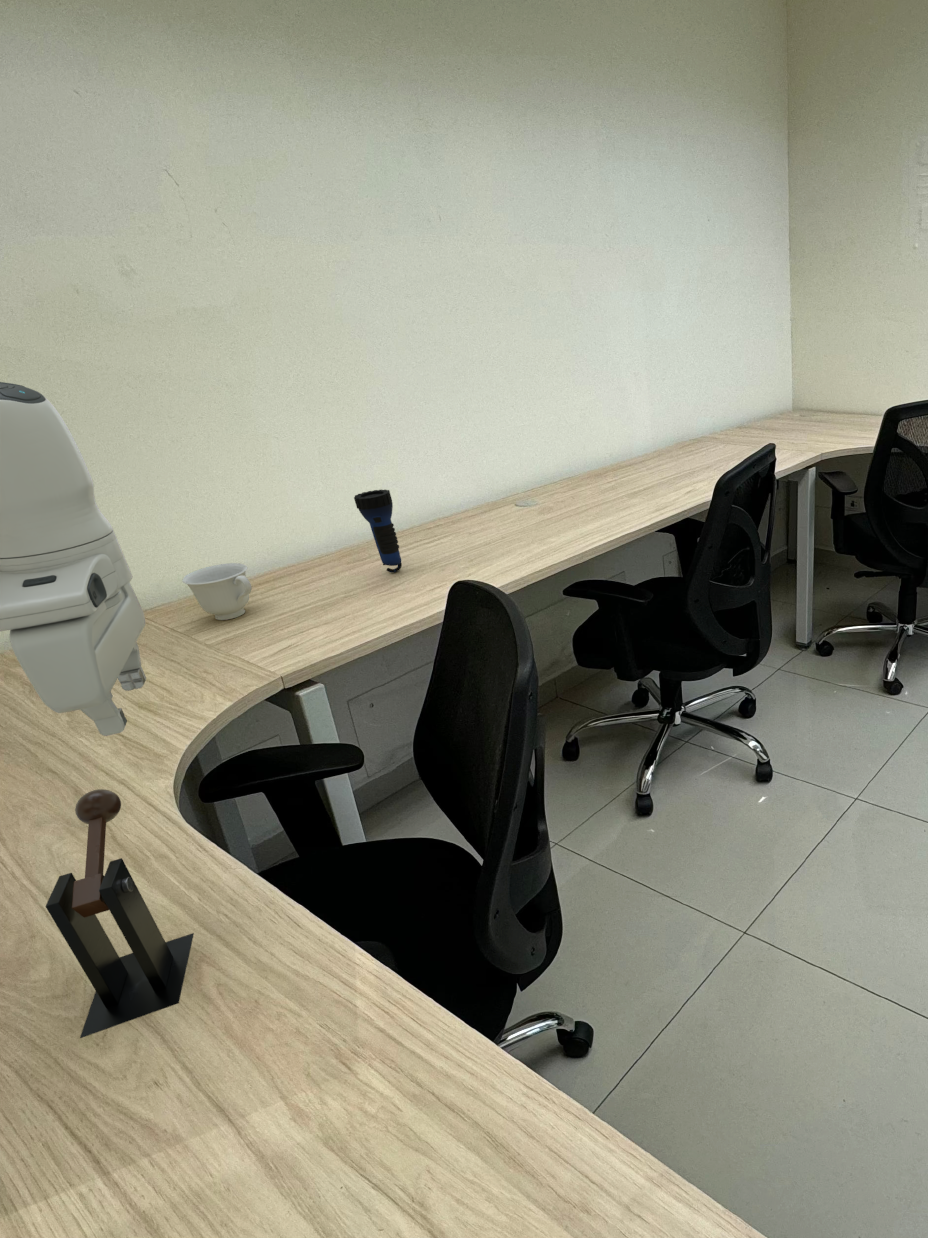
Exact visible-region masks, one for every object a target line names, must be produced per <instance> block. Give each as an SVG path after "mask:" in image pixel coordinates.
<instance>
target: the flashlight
mask: <svg viewBox="0 0 928 1238" xmlns="http://www.w3.org/2000/svg"><path fill="white" fill-rule="evenodd" d="M353 499H354V502H355V506H356V509H357V510H358V511H359V513H360V514H361V516H362V517H363V518H364V519H365V521H367V522H368V524H369V526H370V530H371V532H372V536H373V539H374V543H375V545H376V548H377V551H378V554H379V558H380V560H381V563H382V566H389V567H388V568H386V571H387V572H389V573H397V572H399V571H400V570H401V568H402V565H403V564H402V557H401V553H400V545H399V540H398V536H397V532H396V529H395V527H394V526H395V525H394V523H393V522H392V515H393V510H394V509H393V506H394V505H393V504H394V503H393V499H392V495H391V491H390V489H373V490H367V491H364V492H361V493H357V494H355V495H354V497H353ZM390 567H395V568H390Z"/></svg>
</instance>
